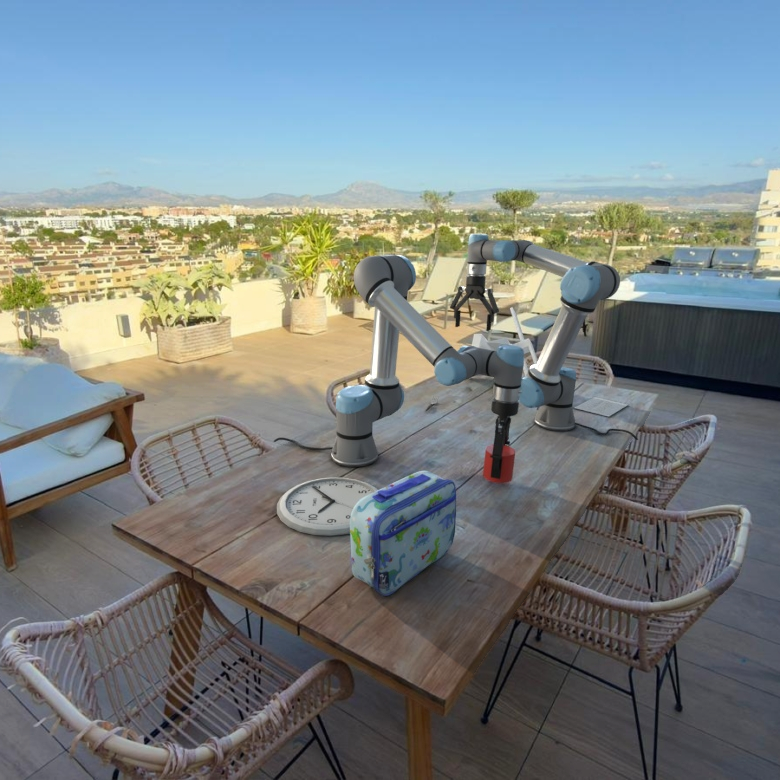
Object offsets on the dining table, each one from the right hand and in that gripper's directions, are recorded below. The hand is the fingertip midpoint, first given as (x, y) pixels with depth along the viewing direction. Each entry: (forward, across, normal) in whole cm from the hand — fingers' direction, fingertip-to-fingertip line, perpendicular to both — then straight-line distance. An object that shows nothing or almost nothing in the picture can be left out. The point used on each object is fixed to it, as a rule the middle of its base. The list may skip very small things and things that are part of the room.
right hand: (472, 328), depth 212 cm
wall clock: (+34, +3, -96) cm, 102 cm away
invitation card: (+34, +47, +35) cm, 68 cm away
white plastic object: (+34, -2, +41) cm, 53 cm away
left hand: (+30, +36, -58) cm, 74 cm away
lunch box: (+34, +34, -109) cm, 119 cm away
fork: (+34, -14, -8) cm, 37 cm away
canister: (+32, +36, -58) cm, 75 cm away
